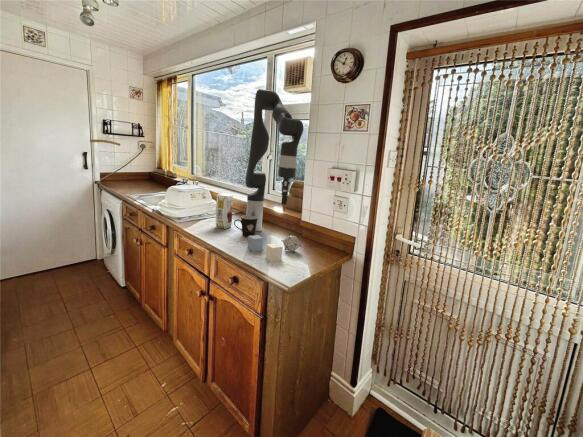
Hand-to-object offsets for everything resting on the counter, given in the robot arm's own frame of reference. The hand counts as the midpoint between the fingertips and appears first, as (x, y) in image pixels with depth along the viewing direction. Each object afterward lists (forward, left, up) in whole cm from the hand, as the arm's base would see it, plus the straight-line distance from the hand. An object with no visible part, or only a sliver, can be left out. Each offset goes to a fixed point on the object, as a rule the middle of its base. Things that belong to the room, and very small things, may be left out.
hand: (284, 202), depth 134 cm
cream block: (+7, -9, -23) cm, 26 cm away
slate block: (-7, -10, -23) cm, 26 cm away
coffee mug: (-29, -3, -23) cm, 37 cm away
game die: (+2, +4, -23) cm, 24 cm away
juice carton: (-48, -7, -23) cm, 53 cm away
